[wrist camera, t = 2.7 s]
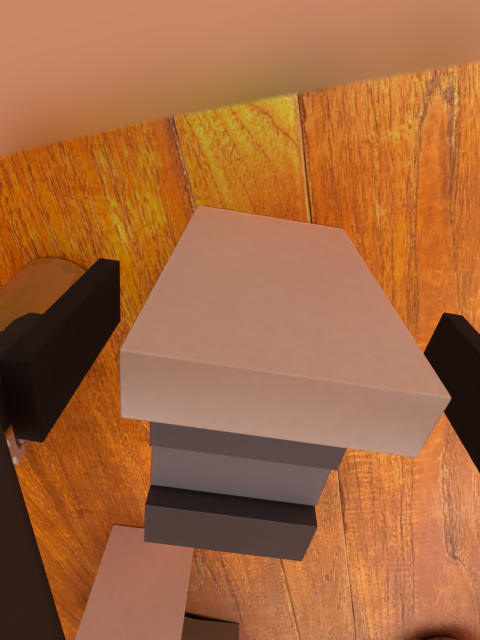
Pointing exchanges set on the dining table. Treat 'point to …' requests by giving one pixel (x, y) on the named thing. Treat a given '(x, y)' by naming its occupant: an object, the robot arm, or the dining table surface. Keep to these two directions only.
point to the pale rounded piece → (16, 448)
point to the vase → (36, 290)
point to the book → (208, 630)
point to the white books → (137, 590)
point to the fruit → (441, 638)
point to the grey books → (235, 491)
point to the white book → (277, 341)
